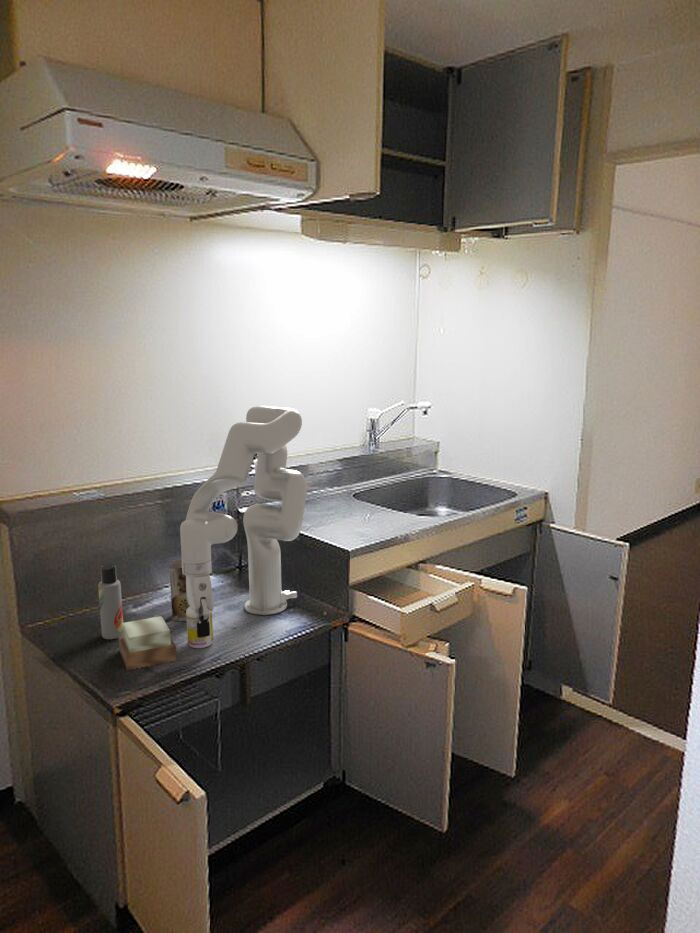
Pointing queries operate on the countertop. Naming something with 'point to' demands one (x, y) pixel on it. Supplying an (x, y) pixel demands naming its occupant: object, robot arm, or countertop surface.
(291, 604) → the countertop surface
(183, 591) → the coffee box
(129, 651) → the cream slab tan edge
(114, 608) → the lotion bottle
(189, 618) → the supplement bottle
